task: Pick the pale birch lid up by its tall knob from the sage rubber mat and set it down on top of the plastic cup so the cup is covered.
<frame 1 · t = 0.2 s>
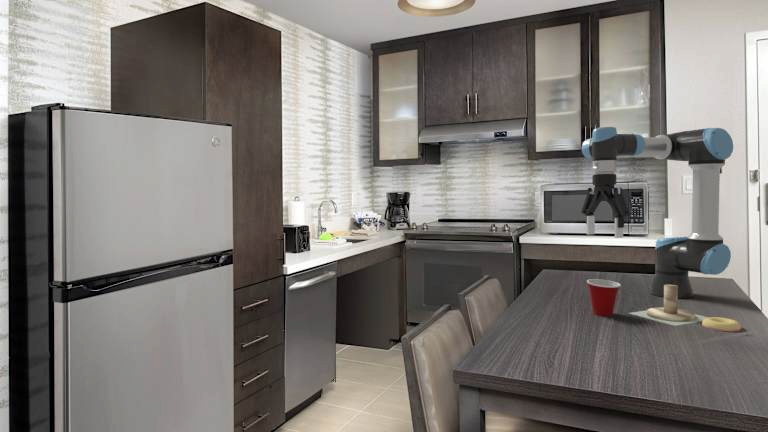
hand: (604, 236, 177), 28 cm above the table, fingers open, 13 cm apart
lid: (670, 315, 173), point 1 cm above the table, touching mat
plastic cup: (603, 316, 178), on the table
mat: (670, 318, 173), on the table
donut: (721, 331, 159), on the table
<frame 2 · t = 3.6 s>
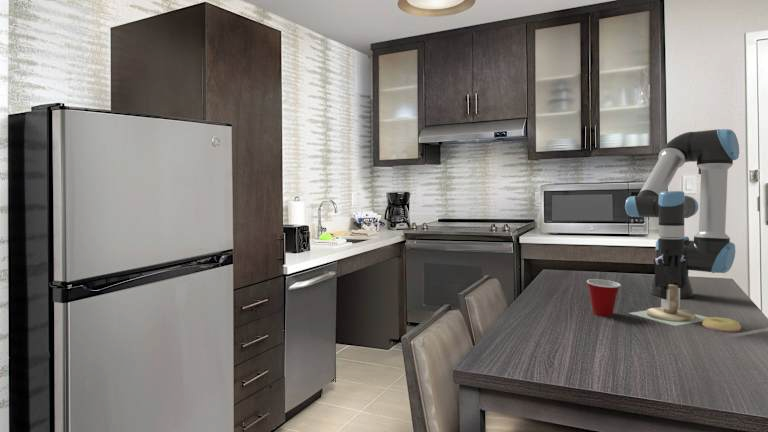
hand: (670, 307, 173), 4 cm above the table, fingers closed on lid, 4 cm apart
lid: (670, 315, 173), point 1 cm above the table, touching gripper
everything else where it was.
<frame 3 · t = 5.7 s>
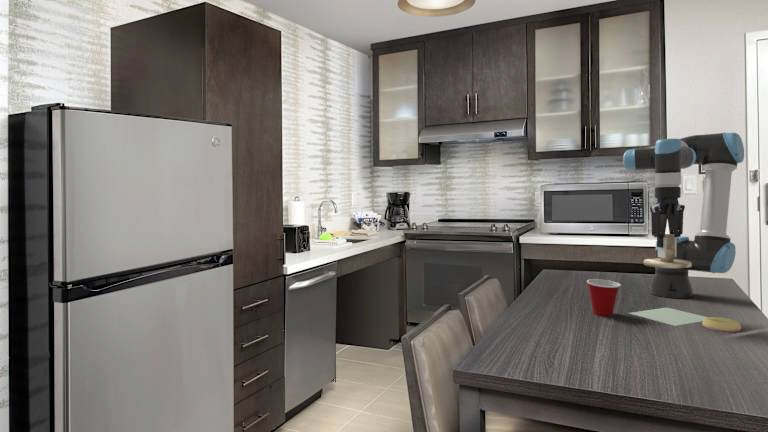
hand: (667, 256, 173), 21 cm above the table, fingers closed on lid, 4 cm apart
lid: (667, 265, 173), point 18 cm above the table, touching gripper
everything else where it was.
when the fingers open (16 cm above the table, at t = 7.8 s): lid drops 2 cm, resting on plastic cup.
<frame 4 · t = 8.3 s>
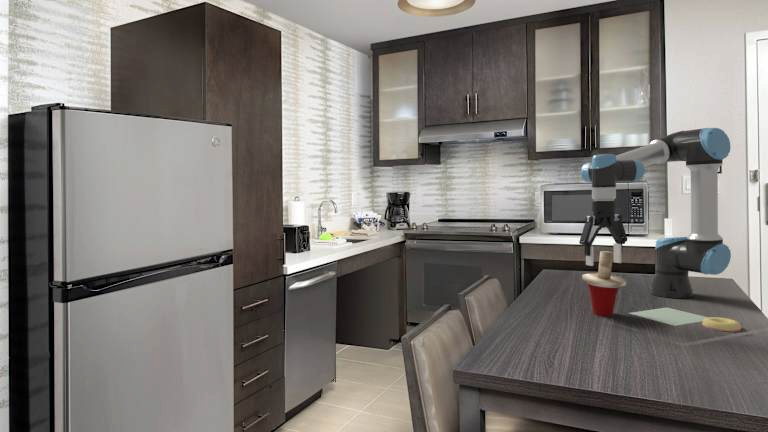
hand: (603, 263, 177), 18 cm above the table, fingers open, 11 cm apart
lid: (603, 281, 178), point 12 cm above the table, touching plastic cup
plastic cup: (603, 316, 178), on the table, touching lid
everything else where it was.
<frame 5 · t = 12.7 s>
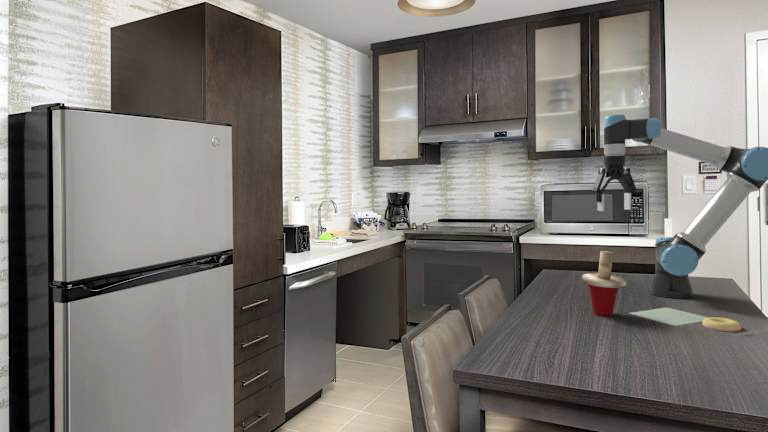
hand: (614, 210, 203), 35 cm above the table, fingers open, 13 cm apart
nothing on the table moved.
at the end: lid 0.1 cm from the plastic cup (horizontally); lid point 12.0 cm above the table; lid tilted 5° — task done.
